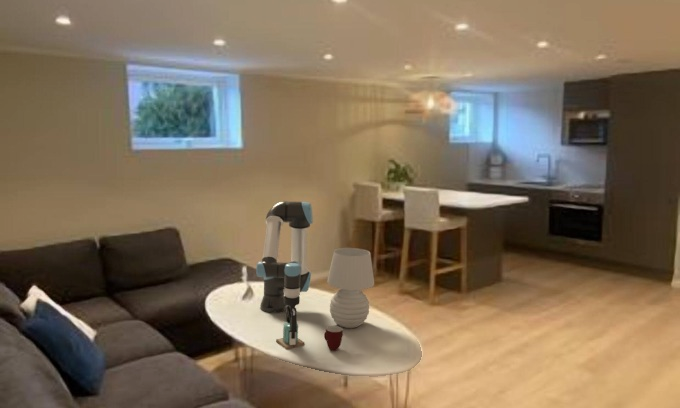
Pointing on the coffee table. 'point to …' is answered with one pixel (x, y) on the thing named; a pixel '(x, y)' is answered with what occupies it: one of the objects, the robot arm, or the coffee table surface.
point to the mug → (333, 337)
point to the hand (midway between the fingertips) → (290, 339)
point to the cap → (288, 333)
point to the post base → (289, 344)
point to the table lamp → (350, 286)
